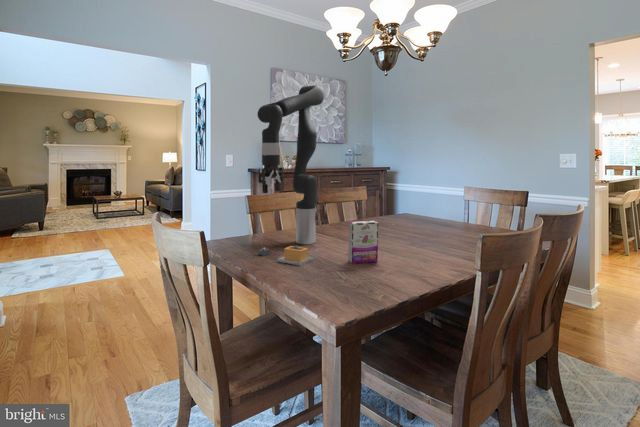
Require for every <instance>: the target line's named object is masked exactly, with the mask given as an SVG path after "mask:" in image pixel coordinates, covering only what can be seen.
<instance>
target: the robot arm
mask: <svg viewBox="0 0 640 427" xmlns="http://www.w3.org/2000/svg"><path fill="white" fill-rule="evenodd" d="M324 99H325V93H324V89H323V88H322V87H321V86H320V85H318V84H317V85H305V86H302V87H301V88H300V89H299V91H298V94H297V95H293V96H288V97H285V98H283V99H280V100H278V101H276V102H272V103H268V104H264V105H262V106H260V107H259V108H258V110H257V118H258V120H259V121H260V122H262V123H264V124H268V126H267V127H266V128H264V129H262V131H261V164H262V165H261V166H263V168H262V167H260V168H258V183H259V184H261V186H262V190H261V191H262V193H263V194H268V193H269V184H268V183H269V181H270V180H271V179H272V180H273V181H274V191H275V192H280V191H281V183H282V182H283V181H284V168H283V167H280V164H281V151H280V150H281V149H280V131H281V125H282V122H283V118H285V117H287V116H289V115H292V114H294V113H297V112H298V125H297V127H298V128H297V138H296V139H297V141H296V142H297V143H296V157H295V165H294V172H293V176H292V178H293V179H292V188H293V191H294V192H295V193H296V194H301V195H303V198H302V199H301V200H298V201H297V202H296V205H295V206H296V208H295V210H296V211H295V221H296V222H295V229H296V230H295V232H296V233H295V238H296V239H295V242H296V244H297V245H312V244H315V243H316V234H317V232H316V229H317V227H316V225H317V223H316V204H317V198H318V181H317V178H316V176H314V175H311V174H306V173H307V166H308V164H309V161H310V160H311V158H312V157H313V155H314V153H315V151H316V149H317V135H318V134H317V131H316V128H315V125H314V124H313V122H312V120H311V115H310V109H311V107H314V106H315V107H316V106H320V105H321V104H322V103H323V102H324Z"/></svg>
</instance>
